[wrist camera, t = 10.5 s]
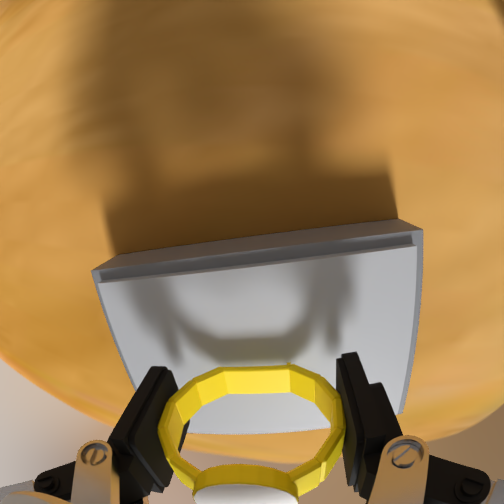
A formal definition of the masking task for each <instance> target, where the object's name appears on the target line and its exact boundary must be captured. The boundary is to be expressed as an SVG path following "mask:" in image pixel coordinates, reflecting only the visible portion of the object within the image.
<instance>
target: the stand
mask: <svg viewBox="0 0 504 504" xmlns="http://www.w3.org/2000/svg"><path fill="white" fill-rule="evenodd" d="M91 272H92V276H93V279H94V283H95V286H96V290H97V293H98V296H99V299H100V302H101V305H102V308H103V311H104V314H105V317H106V320H107V323H108V326H109V328H110V331H111V334H112V337H113V339H114V342H115V344H116V347H117V349H118V352H119V354H120V357H121V359H122V362H123V364H124V366H125V369H126V371H127V373H128V376H129V378H130V380H131V382H132V385H133V387H134V389H135V391H136V390H137V389H138V387H139V385H140V384H141V382H142V380H143V379H144V377H145V375H146V374H147V372H148V370H149V369H150V367H151V366H166V367H167V368H168V370H171V371H172V373H173V376H174V378H175V381H176V384H177V386H178V389H180V388H181V387H183V386H184V385H185V384H186V383H187V382H188V381H189V380H192V379H193V378H194V377H197V376H199V375H201V374H204V373H206V372H208V371H211V370H213V369H215V368H217V367H220V366H221V367H245V366H273V365H287V363H288V362H291V364H295V365H298V366H300V367H302V368H305V369H307V370H310V371H312V372H315V373H317V374H320V375H321V376H323V377H324V378H325V379H326V380H327V381H328V382H329V383H330V384H331V385H332V386H333V387H334V388H335V390H336V359H337V358H341V354H343V353H349V352H357V353H358V355H359V358H360V361H361V363H362V366H363V369H364V371H365V374H366V377H367V379H368V382H369V384H373V383H378V382H381V383H382V384H383V386H384V388H385V391H386V393H387V396H388V398H389V401H390V403H391V406H392V408H393V411H394V413H395V415H397V414H401V413H403V409H404V405H405V400H406V396H407V392H408V387H409V382H410V377H411V372H412V366H413V360H414V354H415V347H416V340H417V333H418V325H419V315H420V305H421V292H422V274H423V229H421V228H419V227H416V226H414V225H412V224H410V223H407V222H405V221H403V220H401V219H391V220H382V221H373V222H364V223H356V224H347V225H338V226H330V227H322V228H313V229H305V230H297V231H289V232H281V233H273V234H265V235H257V236H250V237H242V238H234V239H227V240H219V241H212V242H204V243H197V244H190V245H183V246H176V247H168V248H161V249H154V250H147V251H141V252H134V253H127V254H120V255H117V256H115V257H113V258H112V259H110V260H108V261H107V262H105V263H103V264H101V265H100V266H98V267H96V268H95V269H93V270H91ZM323 428H330V422H329V421H328V420H327V419H326V417H325V416H324V415H323V413H322V412H321V411H320V410H319V408H318V407H317V406H316V405H315V403H313V402H311V401H308V400H306V399H304V398H302V397H300V396H298V395H296V394H293V393H291V392H286V393H262V394H227V395H225V396H223V397H220V398H218V399H216V400H214V401H212V402H210V403H208V404H205V405H203V406H202V407H201V408H200V409H199V410H198V411H197V412H196V413H195V414H194V415H193V416H192V417H191V418H190V424H189V427H188V430H187V433H201V434H268V433H284V432H296V431H306V430H315V429H323Z"/></svg>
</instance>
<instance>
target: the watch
mask: <svg viewBox="0 0 504 504" xmlns="http://www.w3.org/2000/svg"><path fill="white" fill-rule="evenodd" d="M286 392H291V393H293V394H296V395H298V396H300V397H302V398H304V399H306V400H308V401H311V402H313V403H315V405H316V406H317V407H318V408H319V410H320V411H321V412H322V413H323V415H324V416H325V417H326V419H327V420H328V421H329V422H330V428H331V433H330V435H329V436H328V438H327V439H326V441H325V442H324V444H323V445H322V447H321V448H320V450H319V451H318V453H317V454H316V456H315V457H314V458H313V459H311V460H309V461H307V462H306V463H304V464H302V465H300V466H298V467H296V468H294V469H293V470H290V471H288V472H286V473H285V472H282V471H280V470H277V469H274V468H270V467H264V466H259V465H247V464H231V465H220V466H216V467H211V468H208V469H206V470H204V471H200V470H199V469H197V468H196V467H194V466H193V465H191V464H190V463H188V462H187V461H186V460H184V459H183V458H181V456H180V454H179V451H178V447H179V443H180V439H181V435H182V431H183V427H184V425H185V423H186V422H187V421H188V420H189V419H190V418H191V417H192V416H193V415H194V414H195V413H196V412H197V411H198V410H199V409H200V408H201V407H202V406H203V405H205V404H208V403H210V402H212V401H214V400H216V399H218V398H220V397H223V396H225V395H227V394H262V393H286ZM157 428H158V431H157V433H158V436H159V439H160V442H161V445H162V448H163V451H164V454H165V456H166V459H167V461H168V462H169V464H170V466H171V467H172V469H173V471H174V472H175V474H176V476H177V477H178V478H179V479H180V481H181V482H182V483H183V484H185V485H186V486H187V487H189V488H190V489H192V490H193V493H192V495H193V499H194V501H195V503H196V504H298V501H299V500H298V499H299V498H298V497H299V496H301V495H302V494H304V493H306V492H308V491H310V490H312V489H313V488H315V487H317V486H319V483H320V482H322V481H324V479H325V478H326V477H327V475H328V474H329V472H330V471H331V469H332V468H333V466H334V465H335V463H336V461H337V460H338V458H339V457H340V455H341V452H342V449H343V443H344V437H345V431H346V420H345V414H344V409H343V404H342V400H341V396H340V394H339V393H338V392H337V391H336V390H335V388H334V387H333V386H332V385H331V384H330V383H329V382H328V381H327V380H326V379H325V378H324V377H323V376H321V375H320V374H317V373H315V372H312V371H310V370H307V369H305V368H302V367H300V366H298V365H295V364H291V362H288V363H287V365H273V366H245V367H221V366H220V367H217V368H215V369H213V370H211V371H208V372H206V373H204V374H201V375H199V376H197V377H194V378H193V379H192V380H189V381H188V382H187V383H186V384H185V385H184V386H183V387H181V388H180V389H179V390H178V391H177V392H176V393H175V394H174V395H173V396H172V397H170V398H169V399H168V402H167V403H166V405H165V408H164V410H163V413H162V415H161V418H160V421H159V423H158V426H157Z"/></svg>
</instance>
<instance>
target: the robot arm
mask: <svg viewBox="0 0 504 504" xmlns="http://www.w3.org/2000/svg"><path fill="white" fill-rule="evenodd" d="M178 390H179V389H178V386H177V384H176V381H175V378H174V376H173V373H172V371H171V370H168V368H167V367H166V366H151V367H150V369H149V370H148V372H147V374H146V375H145V377H144V379H143V380H142V382H141V384H140V385H139V387H138V389H137V390H136V392H135V394H134V396H133V397H132V399H131V401H130V402H129V404H128V406H127V407H126V409H125V411H124V412H123V414H122V416H121V418H120V419H119V421H118V423H117V424H116V426H115V428H114V430H113V432H112V433H111V435H110V436H109V439H108V441H107V442H105V441H102V440H93V441H90V442H87V443H85V444H84V445H83V446H82V447H81V448H80V449H79V451H78V453H77V459H76V461H74V462H71V463H69V464H65V465H63V466H60V467H57V468H54V469H51V470H48V471H45V472H43V473H41V474H40V475H38V476H37V478H36V479H35V482H34V481H33V480H30V481H26V482H23V483H18V484H14V485H10V486H5V487H2V488H0V504H149V500H148V495H150V492H151V491H154V492H159V493H163V491H164V488H165V487H168V486H169V484H170V481H171V478H172V475H173V472H174V471H173V469H172V467H171V466H170V464H169V462H168V461H167V459H166V456H165V454H164V451H163V448H162V445H161V442H160V439H159V436H158V433H157V431H158V428H157V426H158V423H159V421H160V418H161V415H162V413H163V410H164V408H165V405H166V403H167V402H168V399H169V398H170V397H172V396H173V395H174V394H175V393H176V392H177V391H178ZM336 391H337V392H338V393H339V394H340V396H341V400H342V404H343V409H344V414H345V420H346V431H345V437H344V443H343V449H342V453H343V459H344V466H345V472H346V478H347V484H348V486H352V485H353V487H354V492H359V496H360V497H362V498H364V499H366V503H365V504H504V480H501V479H497V480H496V481H491V480H490V479H489V477H488V475H487V474H486V473H485V472H483V471H481V470H478V469H475V468H471V467H467V466H464V465H460V464H457V463H454V462H451V461H447V460H444V459H441V458H438V457H435V456H432V455H429V448H428V446H427V444H426V442H424V441H423V440H422V439H421V438H418V437H416V436H411V435H405V436H403V434H402V431H401V429H400V426H399V423H398V421H397V418H396V416H395V413H394V411H393V408H392V406H391V403H390V401H389V398H388V396H387V393H386V391H385V388H384V386H383V384H382V383H381V382H378V383H373V384H369V382H368V379H367V377H366V374H365V371H364V369H363V366H362V363H361V361H360V358H359V355H358V353H357V352H349V353H343V354H341V358H337V359H336ZM189 424H190V419H189V420H188V421H187V422H186V423H185V425H184V427H183V431H182V435H181V439H180V443H179V447H178V451H179V454H180V451H181V448H182V445H183V442H184V439H185V436H186V433H187V430H188V427H189Z"/></svg>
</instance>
